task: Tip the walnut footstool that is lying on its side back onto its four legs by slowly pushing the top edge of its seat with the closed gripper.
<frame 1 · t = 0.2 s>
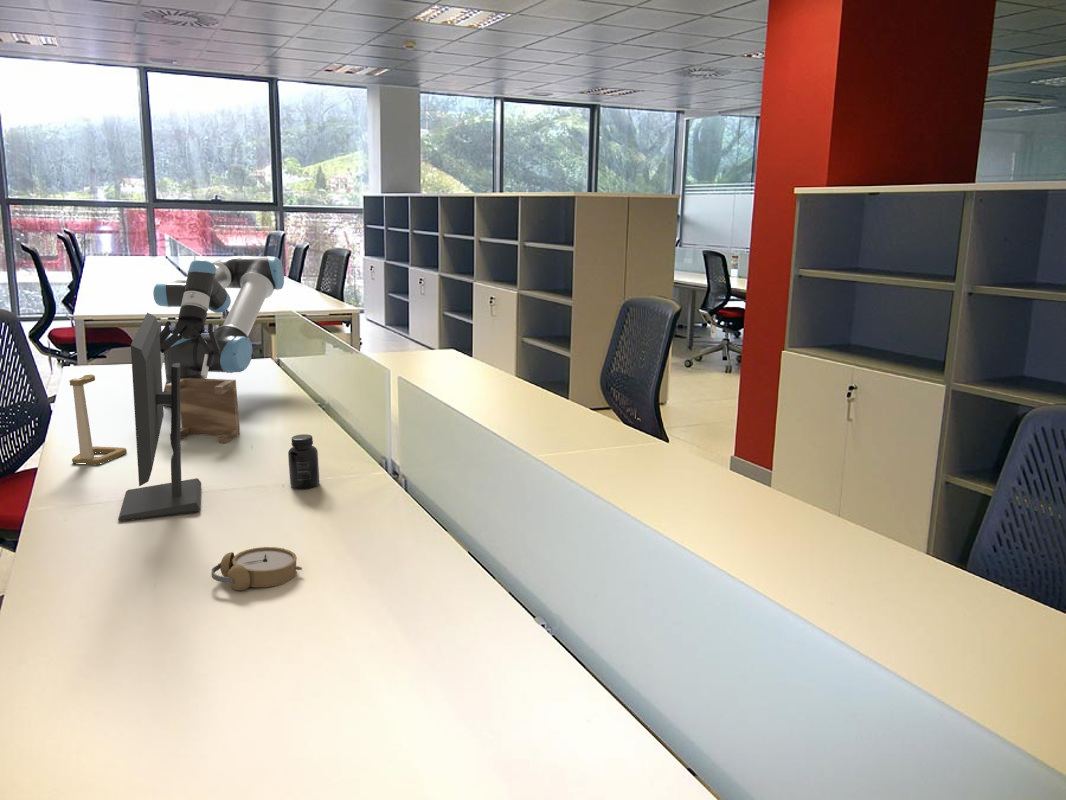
hand: (180, 375, 239), 16 cm above the table, tool tilted 35°, fingers open, 13 cm apart
stool: (205, 437, 234), on the table
supplement bottle: (305, 485, 198), on the table
alarm clock: (255, 579, 151), on the table
computer monitor: (162, 504, 185), on the table
headphone stand: (97, 458, 215), on the table
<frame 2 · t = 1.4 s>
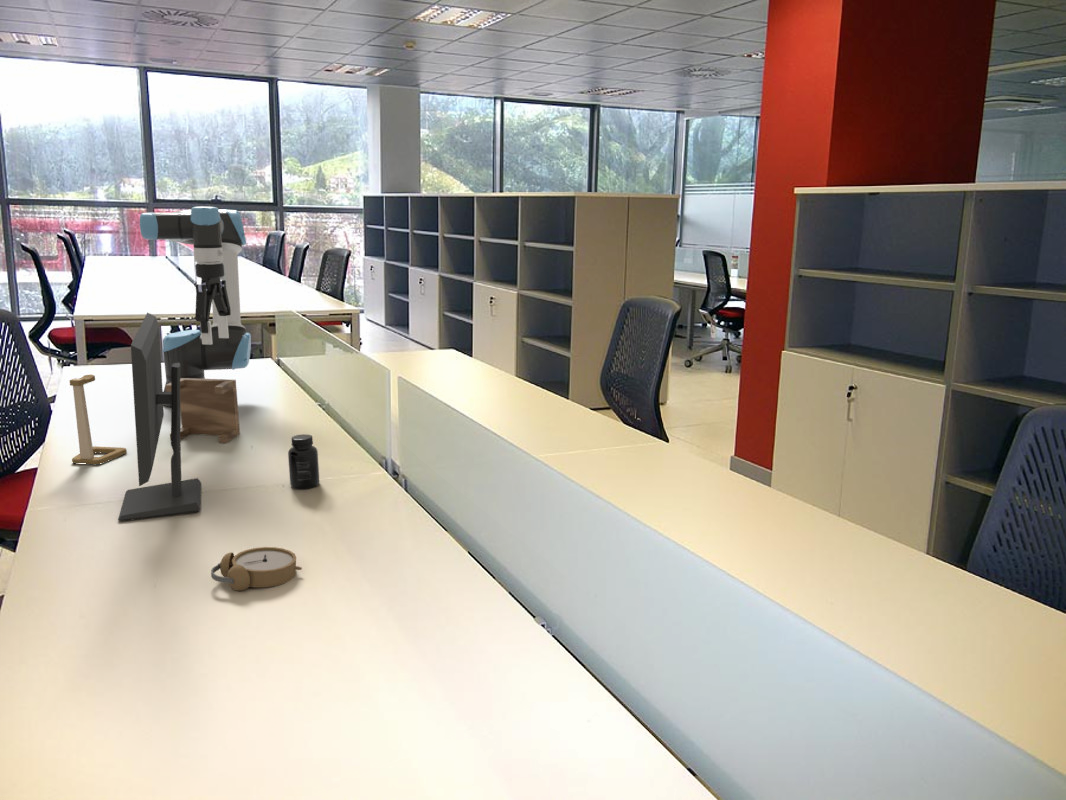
hand: (215, 341, 238), 26 cm above the table, tool pointing down, fingers open, 10 cm apart
nothing on the table moved.
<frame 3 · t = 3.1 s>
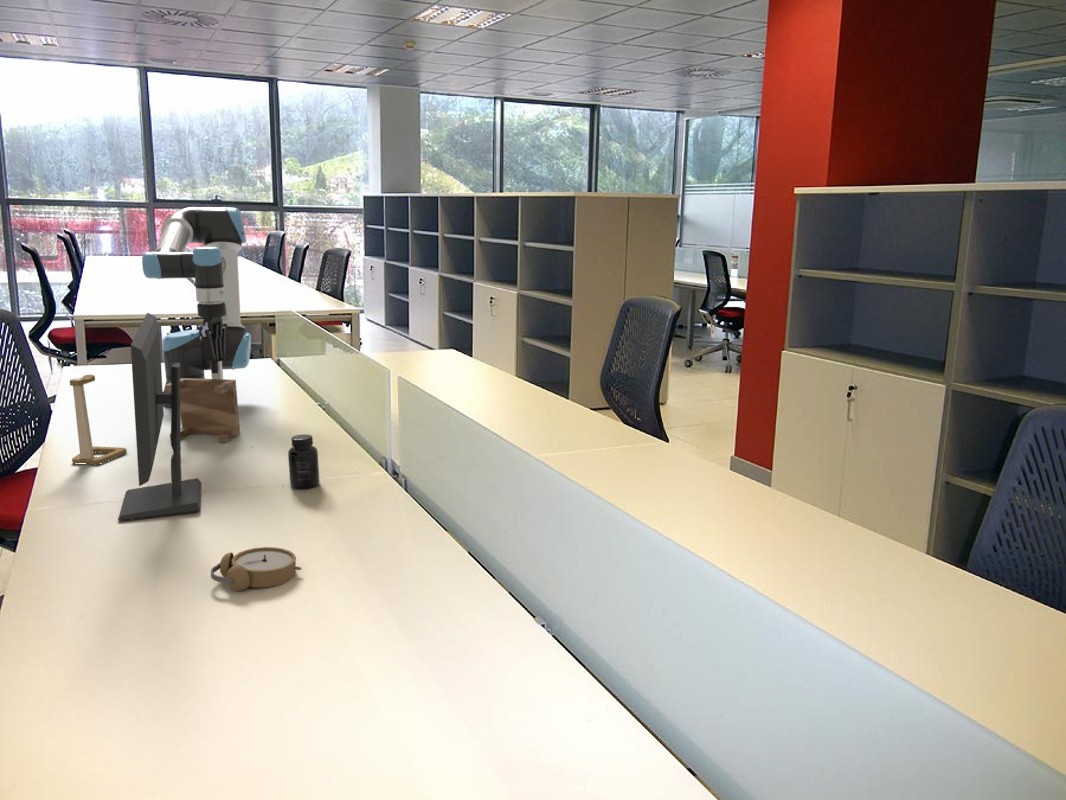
hand: (217, 383, 240), 13 cm above the table, tool pointing down, fingers closed
nothing on the table moved.
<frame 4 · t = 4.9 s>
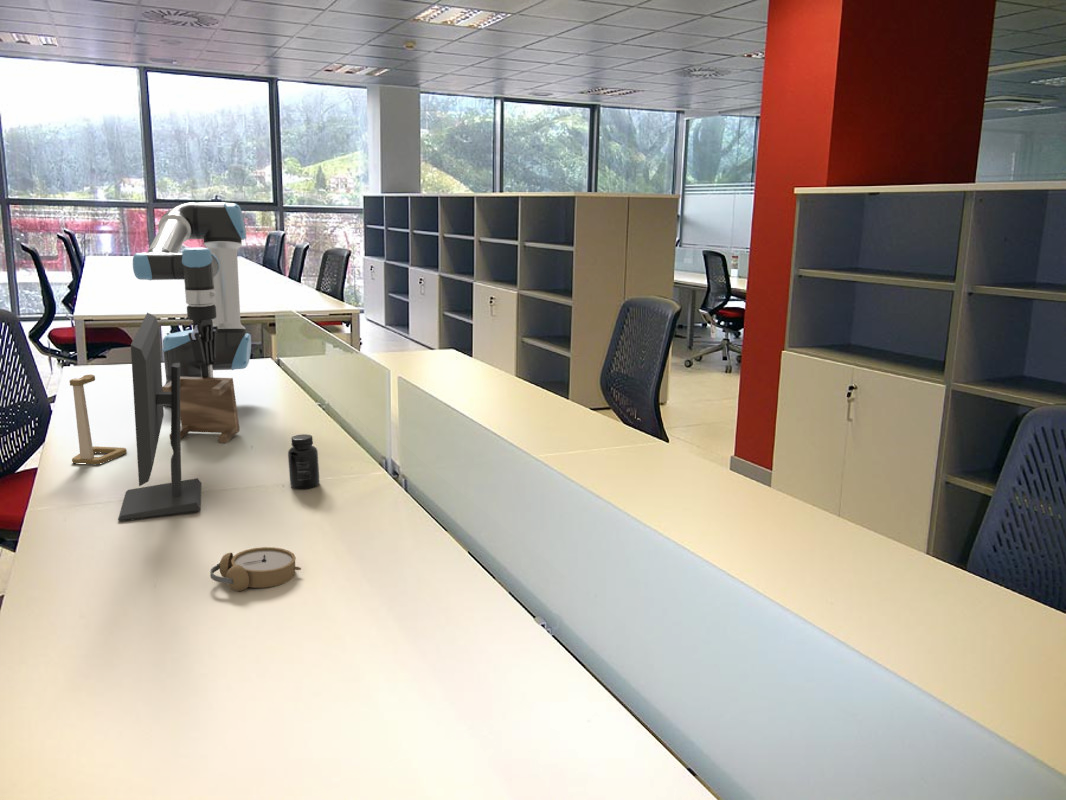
hand: (208, 387, 234), 14 cm above the table, tool pointing down, fingers closed
stool: (205, 435, 234), on the table, tilted 6°, touching gripper
everything else where it was.
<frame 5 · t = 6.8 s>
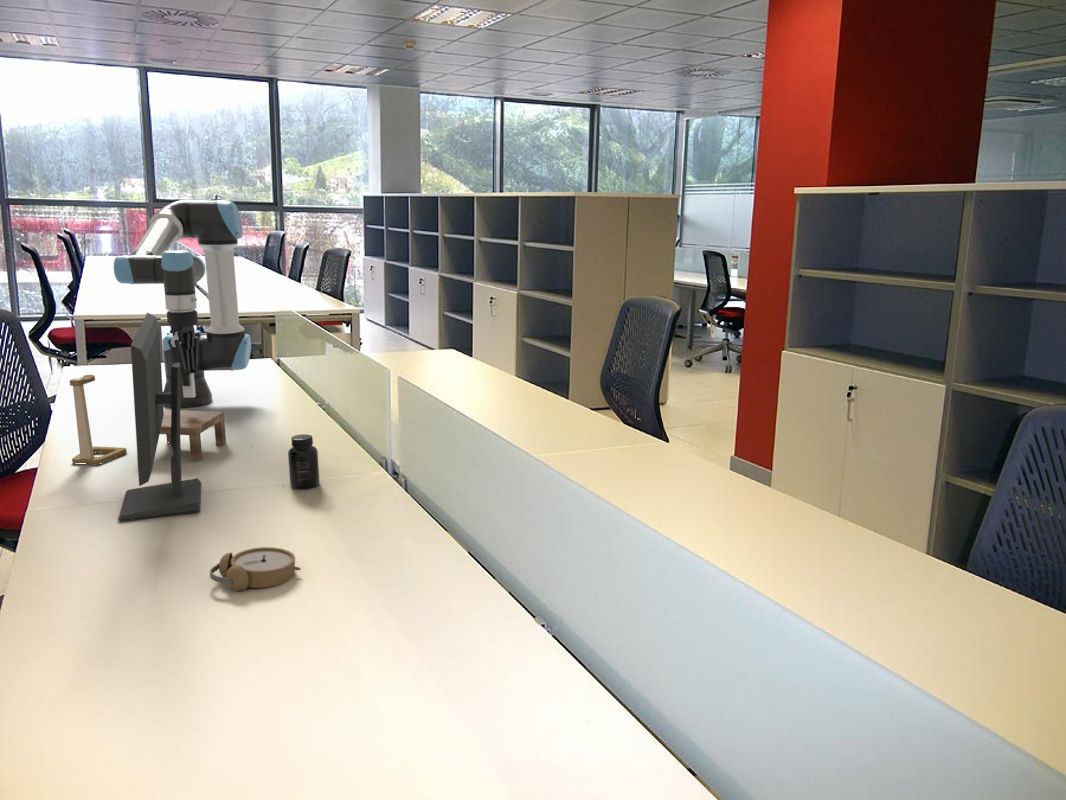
hand: (189, 396, 224), 14 cm above the table, tool pointing down, fingers closed
stool: (197, 426, 228), point 4 cm above the table, tilted 90°
everything else where it was.
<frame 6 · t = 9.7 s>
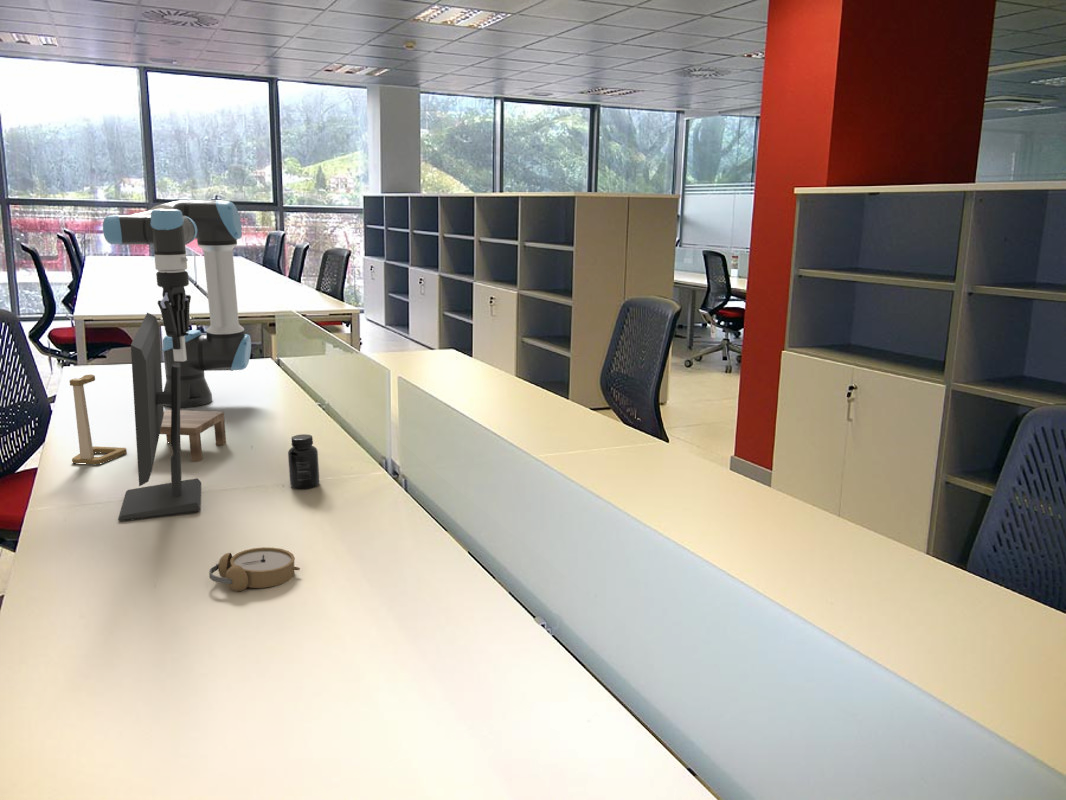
hand: (180, 360, 218), 24 cm above the table, tool pointing down, fingers closed
nothing on the table moved.
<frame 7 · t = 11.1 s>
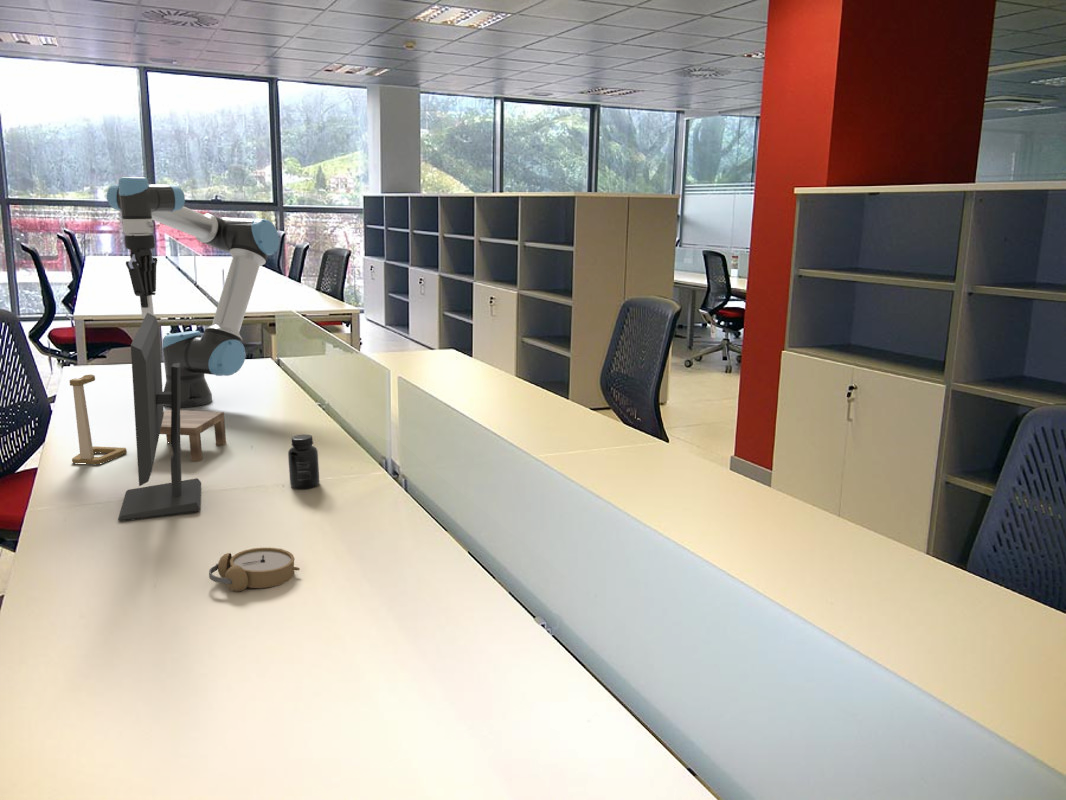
hand: (148, 318, 236), 32 cm above the table, tool pointing down, fingers closed
nothing on the table moved.
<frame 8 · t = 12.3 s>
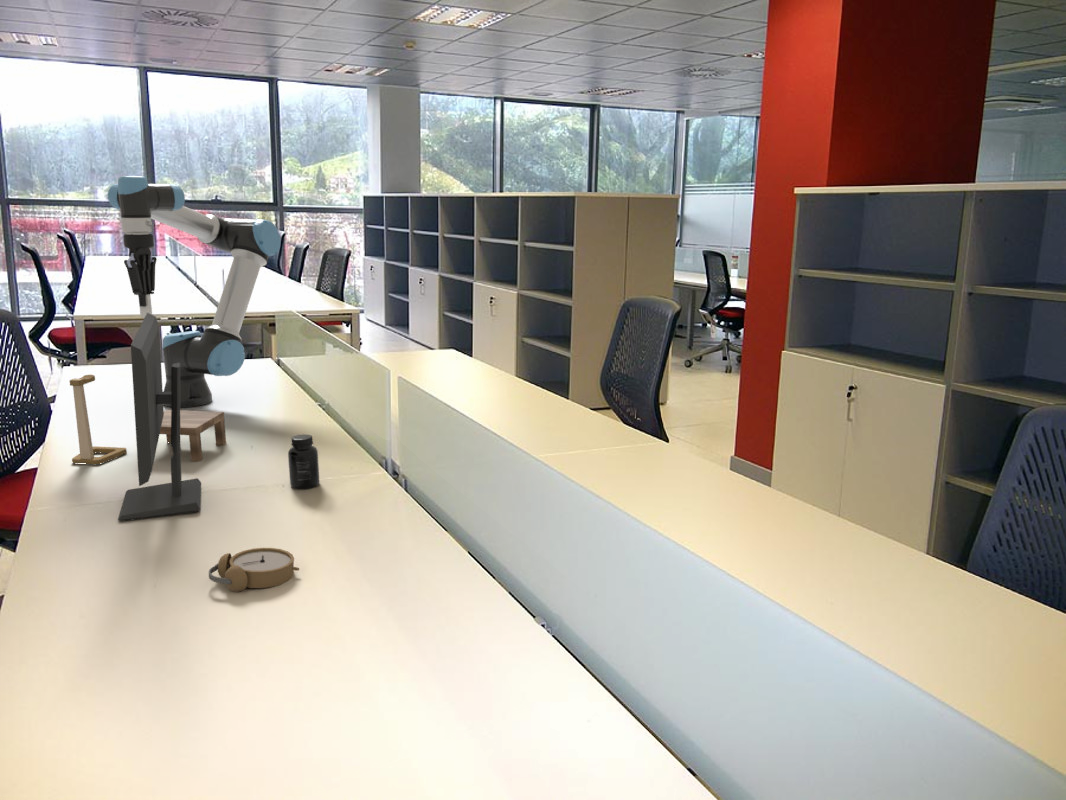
hand: (146, 317, 236), 32 cm above the table, tool pointing down, fingers closed
nothing on the table moved.
at the end: stool tilted 90°; stool inside the target area (4.0 cm from its centre), point 4.5 cm above the table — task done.
